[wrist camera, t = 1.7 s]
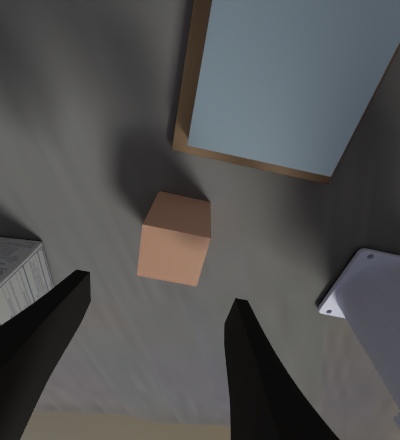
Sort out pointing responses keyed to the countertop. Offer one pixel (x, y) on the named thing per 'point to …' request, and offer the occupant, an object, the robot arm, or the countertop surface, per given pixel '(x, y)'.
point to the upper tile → (290, 77)
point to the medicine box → (21, 275)
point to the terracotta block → (175, 239)
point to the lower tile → (189, 94)
